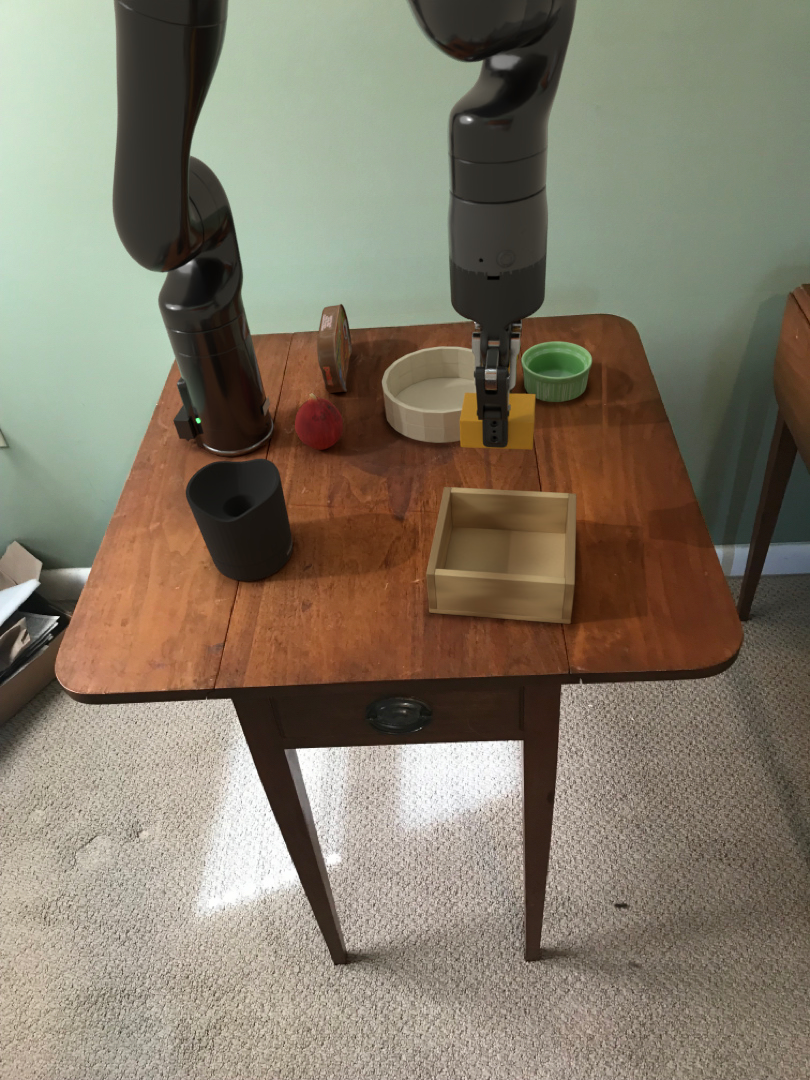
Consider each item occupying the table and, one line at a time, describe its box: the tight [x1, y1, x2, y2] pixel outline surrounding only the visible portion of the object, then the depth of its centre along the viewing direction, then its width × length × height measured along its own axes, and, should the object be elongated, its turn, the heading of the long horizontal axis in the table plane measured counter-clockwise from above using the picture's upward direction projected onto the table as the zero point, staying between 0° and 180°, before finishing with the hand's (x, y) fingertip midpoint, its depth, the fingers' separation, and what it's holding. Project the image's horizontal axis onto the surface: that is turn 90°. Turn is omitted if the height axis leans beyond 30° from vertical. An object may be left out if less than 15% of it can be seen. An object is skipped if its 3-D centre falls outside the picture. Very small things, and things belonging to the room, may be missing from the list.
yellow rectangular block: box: [459, 393, 537, 451], centre depth 70 cm, size 6×4×3 cm
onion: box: [294, 392, 344, 451], centre depth 93 cm, size 6×6×8 cm
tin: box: [316, 303, 353, 394], centre depth 106 cm, size 15×3×8 cm, turn 179°
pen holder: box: [185, 458, 294, 582], centre depth 80 cm, size 9×9×10 cm
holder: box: [425, 486, 578, 625], centre depth 77 cm, size 14×13×6 cm
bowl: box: [381, 345, 483, 444], centre depth 98 cm, size 15×15×5 cm
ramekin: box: [520, 341, 593, 403], centre depth 100 cm, size 9×9×4 cm
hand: (497, 427), depth 71 cm, fingers closed on yellow rectangular block, 4 cm apart
